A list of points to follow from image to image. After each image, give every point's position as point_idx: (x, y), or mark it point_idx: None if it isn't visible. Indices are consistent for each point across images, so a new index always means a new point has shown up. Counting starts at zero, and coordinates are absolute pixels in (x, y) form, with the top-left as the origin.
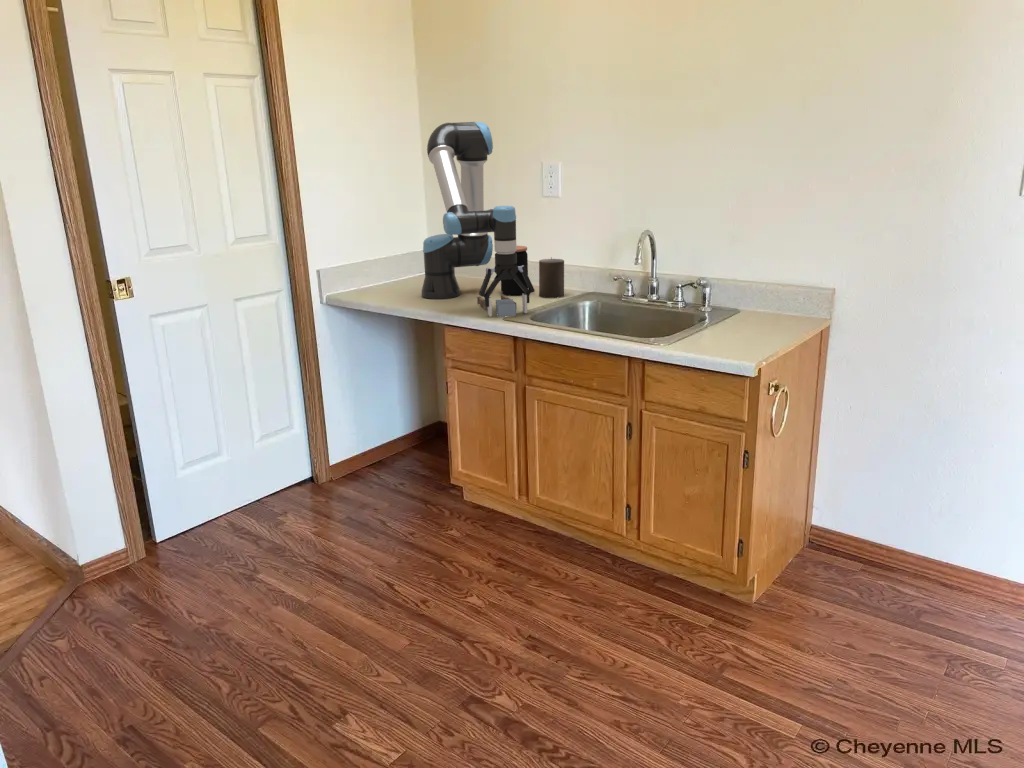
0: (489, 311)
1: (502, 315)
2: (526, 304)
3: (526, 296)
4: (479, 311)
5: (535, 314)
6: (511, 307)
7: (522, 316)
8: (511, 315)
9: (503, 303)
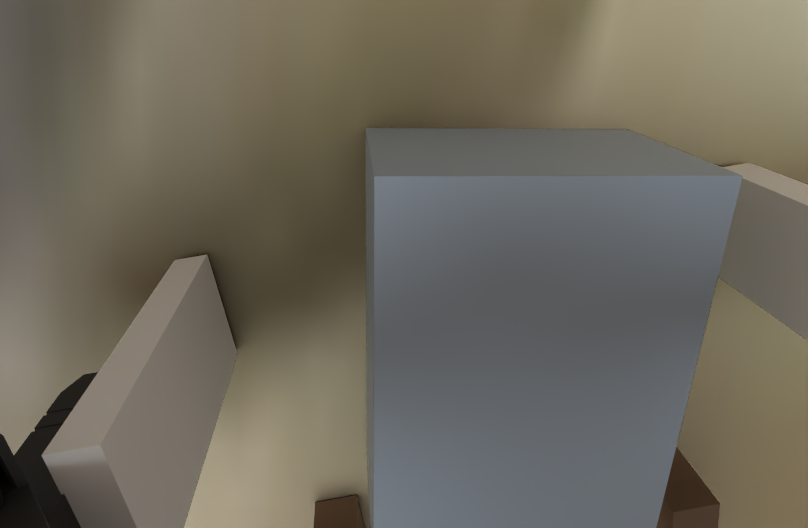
0: (803, 191)
1: (579, 136)
2: (137, 325)
3: (67, 429)
4: (749, 483)
5: (39, 194)
6: (454, 163)
7: (259, 104)
8: (436, 130)
9: (596, 312)
